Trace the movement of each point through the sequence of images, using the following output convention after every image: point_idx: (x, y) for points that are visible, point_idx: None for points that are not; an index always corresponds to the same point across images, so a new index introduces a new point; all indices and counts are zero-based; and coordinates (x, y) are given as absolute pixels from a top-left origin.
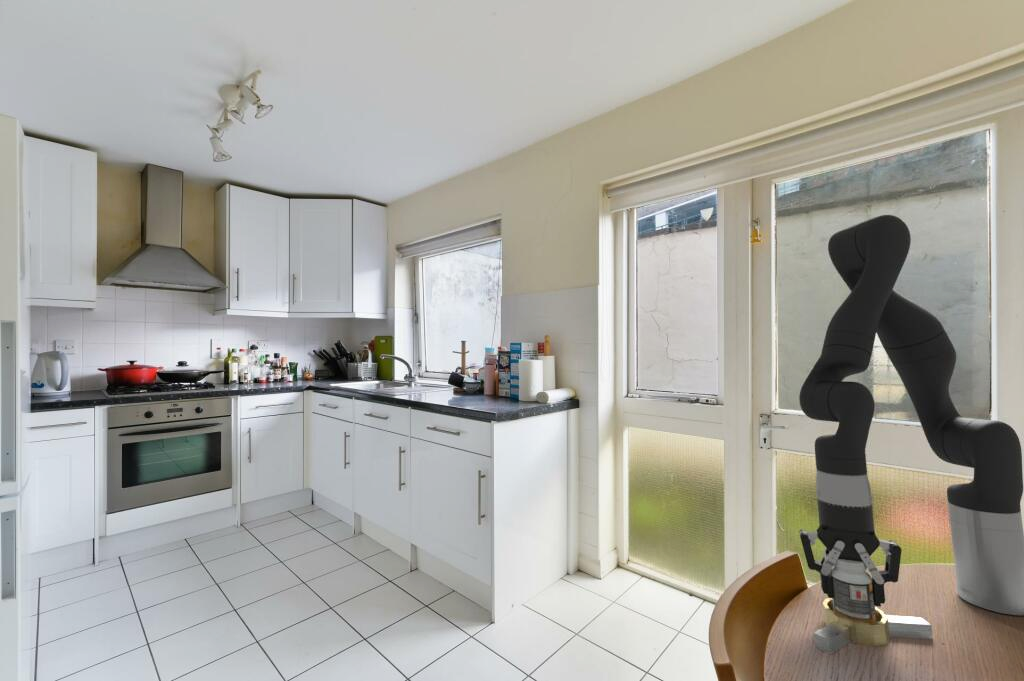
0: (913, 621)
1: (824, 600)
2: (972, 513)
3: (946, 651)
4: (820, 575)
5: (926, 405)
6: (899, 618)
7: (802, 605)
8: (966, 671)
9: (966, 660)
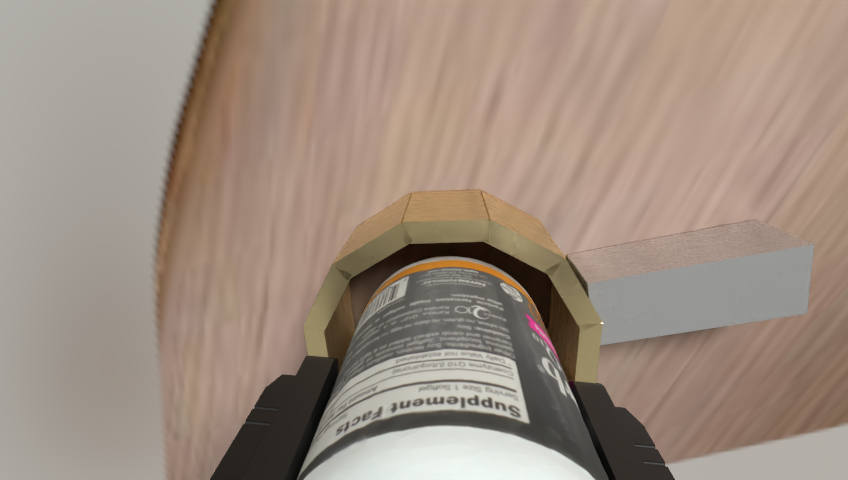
0: (733, 301)
1: (316, 298)
2: None
3: (745, 352)
4: (221, 470)
5: None
6: (674, 294)
7: (248, 141)
8: (726, 447)
9: (780, 388)
